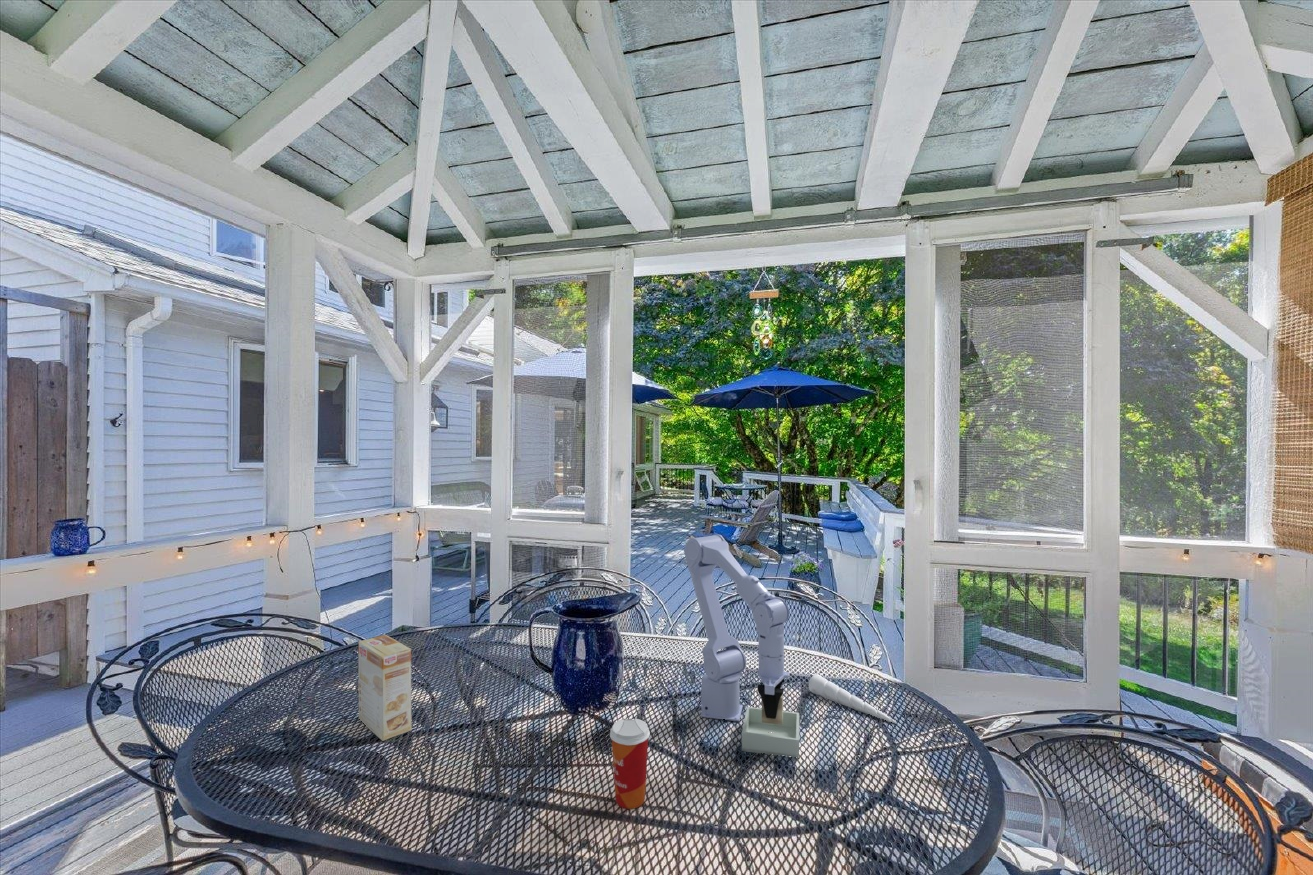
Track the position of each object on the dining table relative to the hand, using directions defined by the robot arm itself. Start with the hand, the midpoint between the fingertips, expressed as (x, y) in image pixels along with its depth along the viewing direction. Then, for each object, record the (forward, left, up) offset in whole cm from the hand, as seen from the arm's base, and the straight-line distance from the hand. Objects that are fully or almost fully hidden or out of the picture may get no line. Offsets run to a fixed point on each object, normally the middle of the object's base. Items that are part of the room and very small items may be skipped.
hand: (771, 712), depth 128 cm
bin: (0, 0, -6) cm, 6 cm away
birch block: (0, 0, -2) cm, 2 cm away
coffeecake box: (-91, -16, -7) cm, 93 cm away
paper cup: (-25, -28, -7) cm, 38 cm away
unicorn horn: (+18, +22, -7) cm, 29 cm away
